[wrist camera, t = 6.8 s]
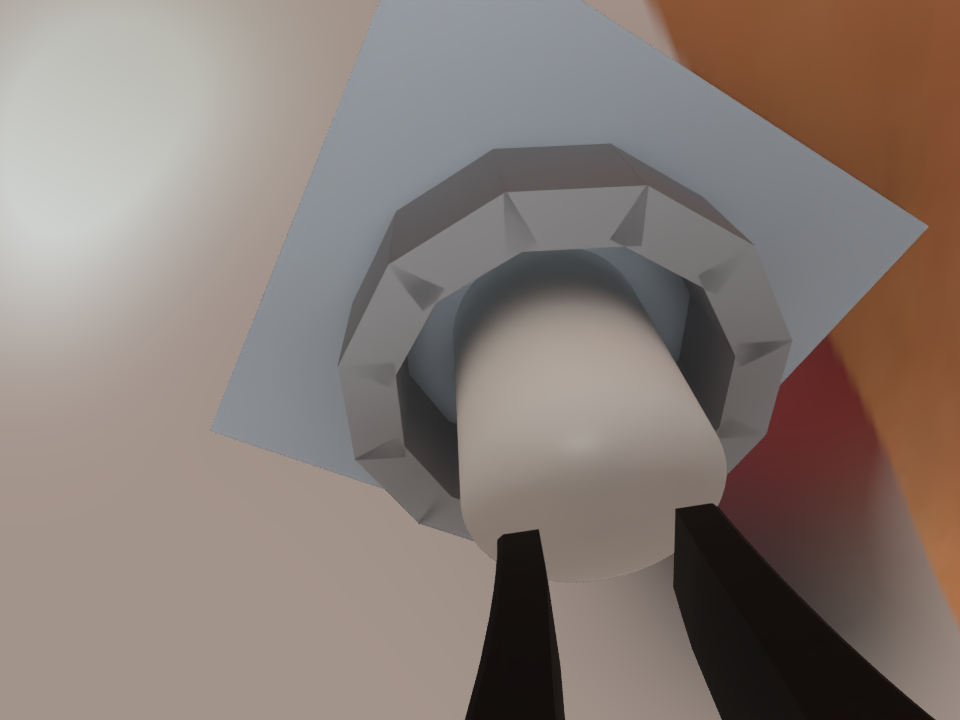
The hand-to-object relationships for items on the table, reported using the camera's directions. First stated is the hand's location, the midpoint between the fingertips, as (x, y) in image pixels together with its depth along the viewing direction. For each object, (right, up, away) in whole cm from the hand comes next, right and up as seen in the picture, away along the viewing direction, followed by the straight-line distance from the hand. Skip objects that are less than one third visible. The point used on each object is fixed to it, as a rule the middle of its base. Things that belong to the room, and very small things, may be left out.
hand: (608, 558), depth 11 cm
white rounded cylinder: (0, +4, +6) cm, 7 cm away
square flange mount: (-1, +5, +7) cm, 8 cm away
